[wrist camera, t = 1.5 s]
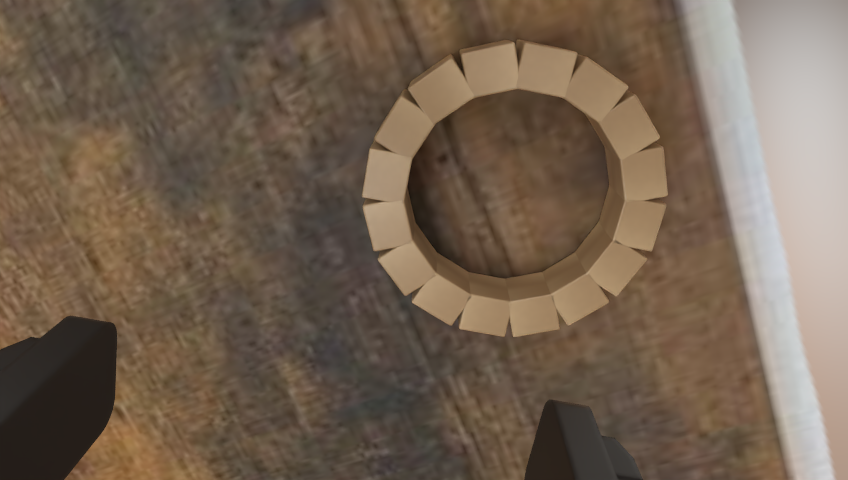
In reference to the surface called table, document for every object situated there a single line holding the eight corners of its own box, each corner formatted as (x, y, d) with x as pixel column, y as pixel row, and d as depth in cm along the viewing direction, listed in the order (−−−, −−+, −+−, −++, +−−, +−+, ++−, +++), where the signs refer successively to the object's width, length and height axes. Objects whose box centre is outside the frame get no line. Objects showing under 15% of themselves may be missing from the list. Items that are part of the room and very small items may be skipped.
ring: (314, 148, 26) (303, 161, 24) (556, -21, 24) (568, -25, 22) (467, 354, 29) (469, 383, 27) (696, 221, 27) (719, 240, 25)
